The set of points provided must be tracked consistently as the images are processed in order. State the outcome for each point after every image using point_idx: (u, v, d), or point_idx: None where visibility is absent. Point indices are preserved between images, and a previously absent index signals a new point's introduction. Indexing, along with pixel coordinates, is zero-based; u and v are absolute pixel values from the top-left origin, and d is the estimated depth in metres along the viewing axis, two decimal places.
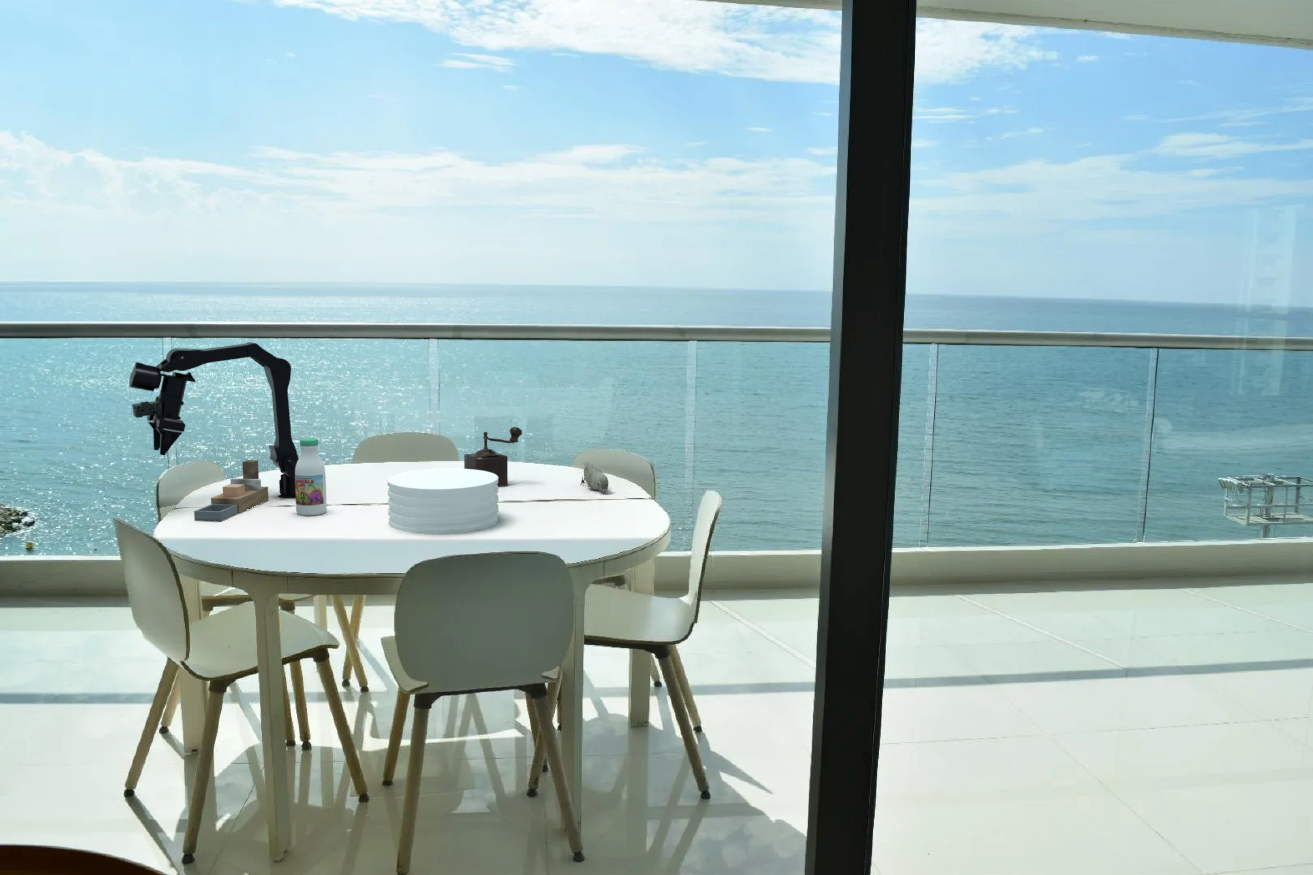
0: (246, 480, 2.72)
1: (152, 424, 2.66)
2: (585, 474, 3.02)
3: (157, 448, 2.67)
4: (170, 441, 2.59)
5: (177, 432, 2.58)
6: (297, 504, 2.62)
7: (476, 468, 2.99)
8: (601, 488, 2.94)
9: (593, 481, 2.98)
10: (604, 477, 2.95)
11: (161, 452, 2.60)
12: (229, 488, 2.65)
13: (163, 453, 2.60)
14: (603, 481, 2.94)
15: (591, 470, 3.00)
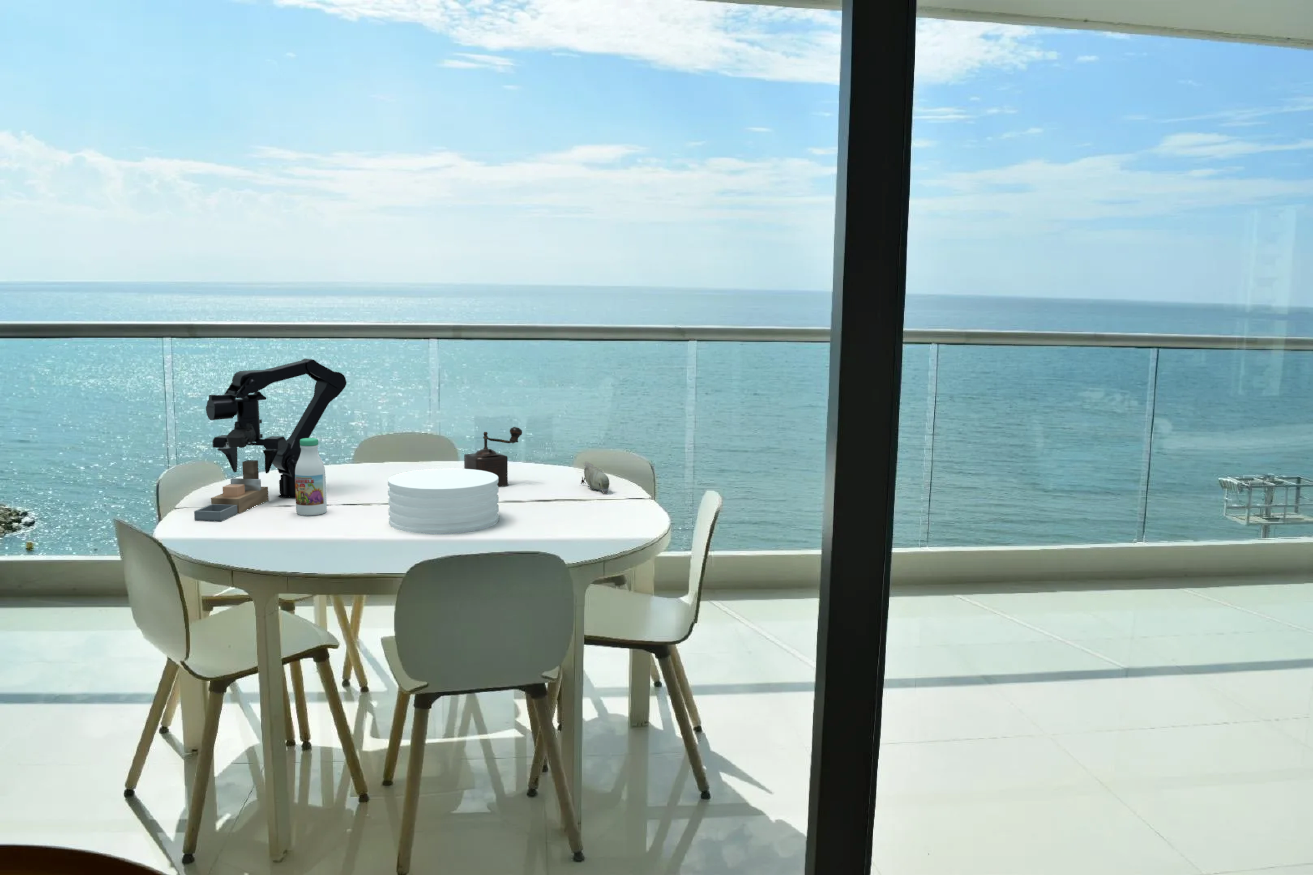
0: (246, 480, 2.72)
1: (228, 450, 2.73)
2: (585, 474, 3.02)
3: (236, 470, 2.76)
4: (272, 458, 2.76)
5: (280, 448, 2.76)
6: (297, 504, 2.62)
7: (476, 468, 2.99)
8: (602, 488, 2.95)
9: (594, 481, 2.98)
10: (605, 477, 2.95)
11: (267, 471, 2.75)
12: (229, 488, 2.65)
13: (268, 471, 2.76)
14: (604, 480, 2.94)
15: (592, 470, 3.00)
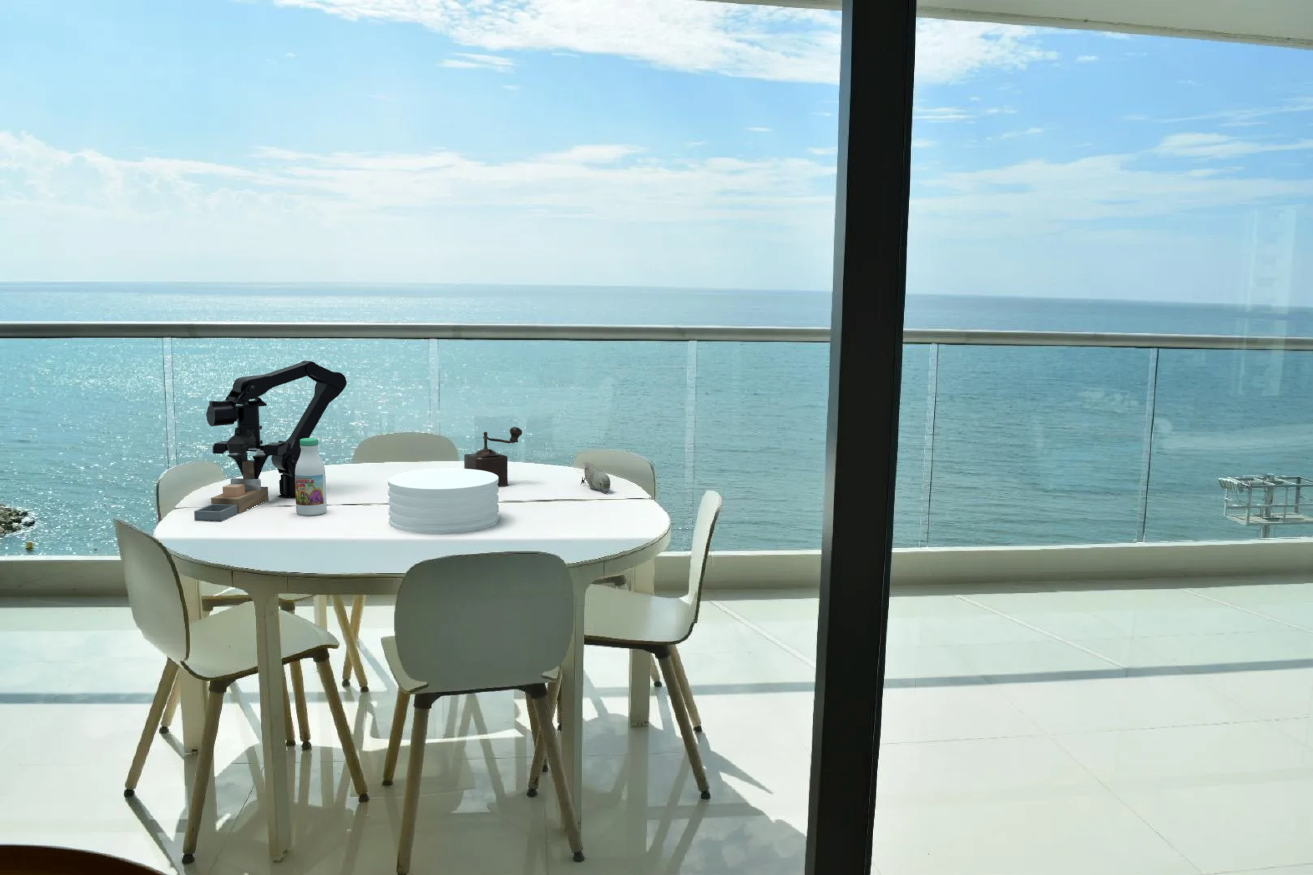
0: (246, 480, 2.72)
1: (238, 456, 2.73)
2: (586, 474, 3.02)
3: None
4: (262, 464, 2.76)
5: None
6: (297, 504, 2.62)
7: (476, 468, 2.99)
8: (603, 488, 2.95)
9: (595, 481, 2.98)
10: (606, 477, 2.96)
11: (257, 477, 2.76)
12: (229, 488, 2.65)
13: (258, 477, 2.76)
14: (605, 480, 2.95)
15: (592, 470, 3.01)
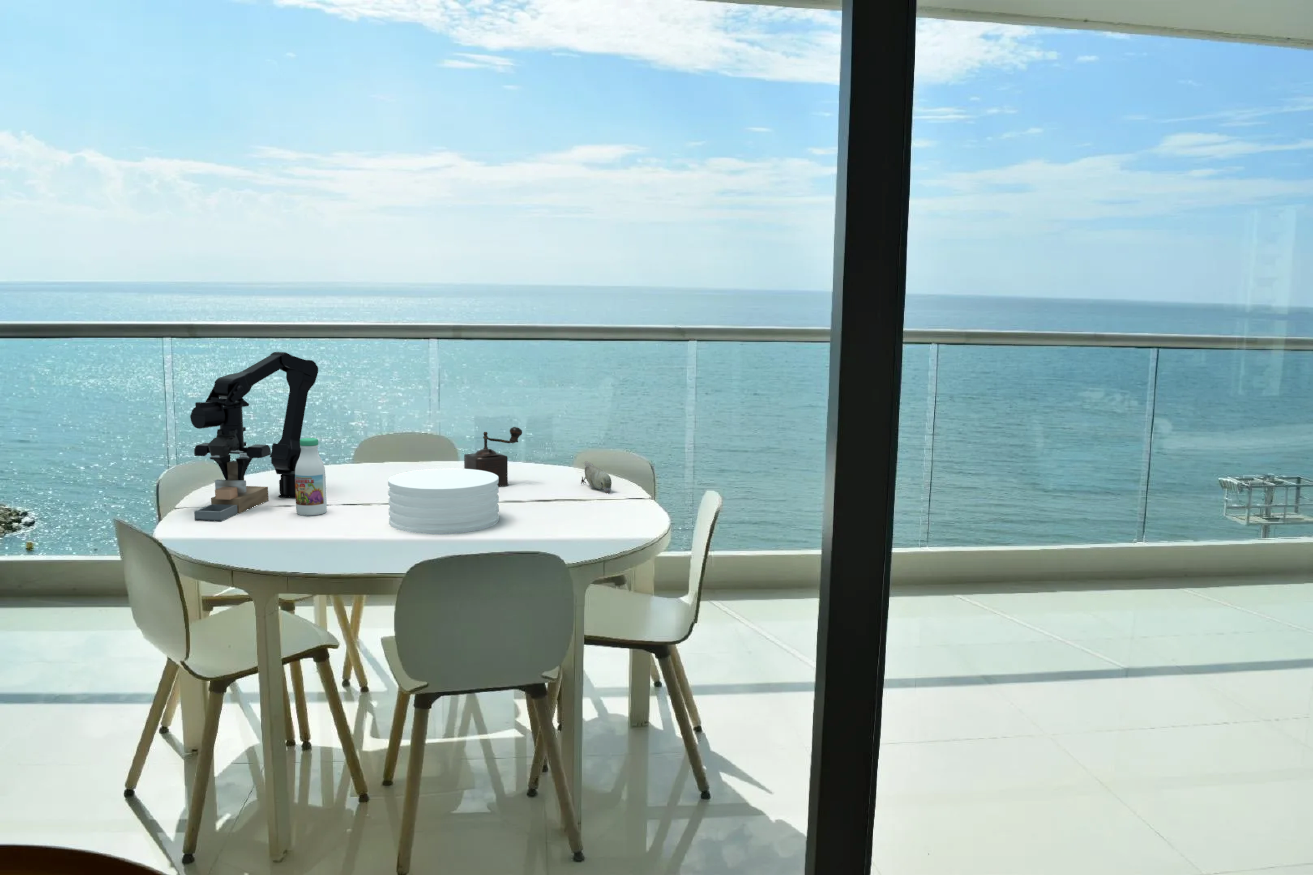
0: (231, 481, 2.64)
1: (221, 458, 2.64)
2: (586, 473, 3.03)
3: None
4: (245, 467, 2.67)
5: None
6: (297, 504, 2.62)
7: (476, 468, 2.99)
8: (605, 487, 2.96)
9: (596, 480, 2.99)
10: (607, 476, 2.96)
11: None
12: (221, 491, 2.61)
13: None
14: (606, 480, 2.96)
15: (593, 469, 3.01)
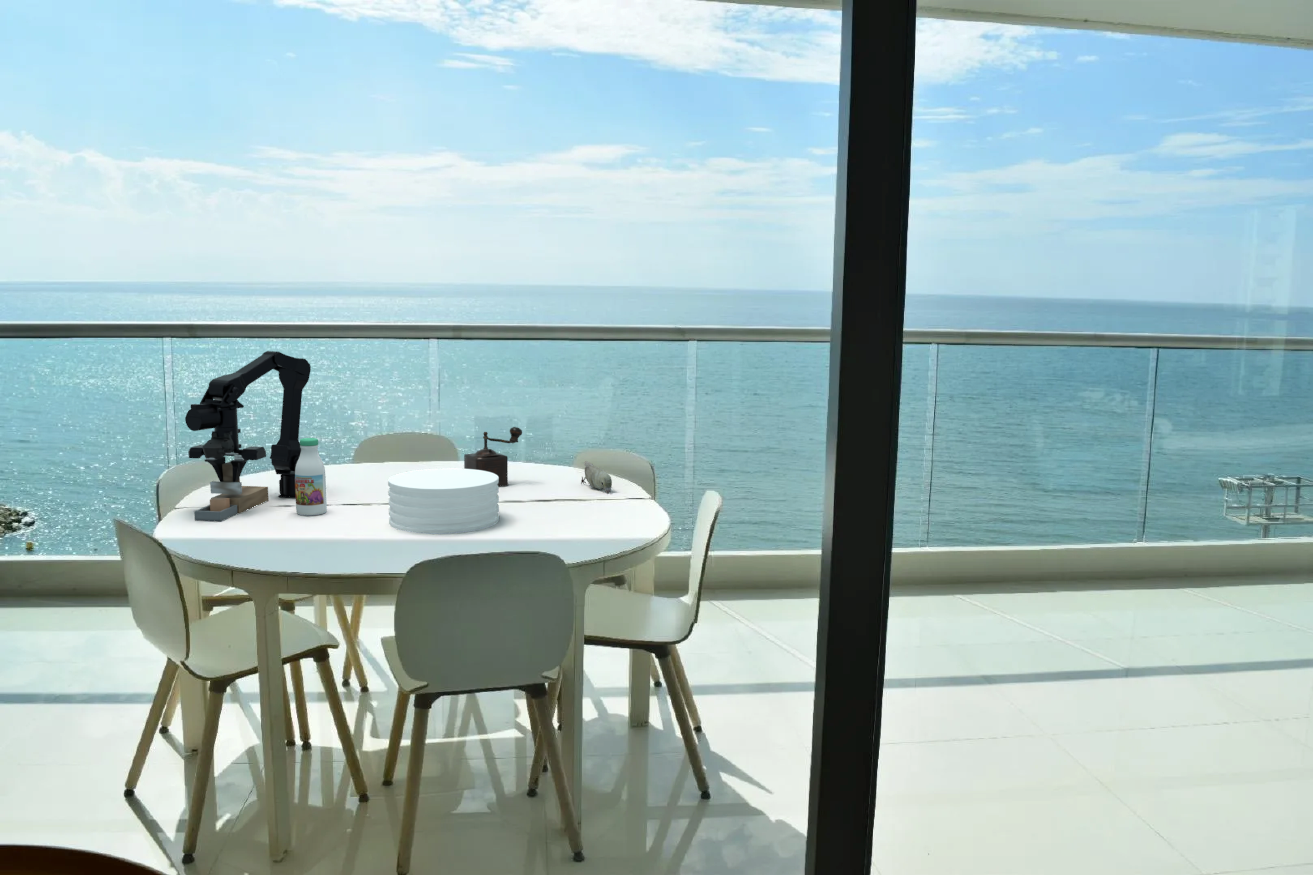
0: (226, 483, 2.62)
1: (215, 461, 2.61)
2: (587, 473, 3.03)
3: None
4: (240, 469, 2.64)
5: None
6: (297, 504, 2.62)
7: (476, 468, 2.99)
8: (605, 487, 2.96)
9: (596, 480, 2.99)
10: (608, 476, 2.97)
11: None
12: None
13: None
14: (607, 480, 2.96)
15: (593, 469, 3.02)
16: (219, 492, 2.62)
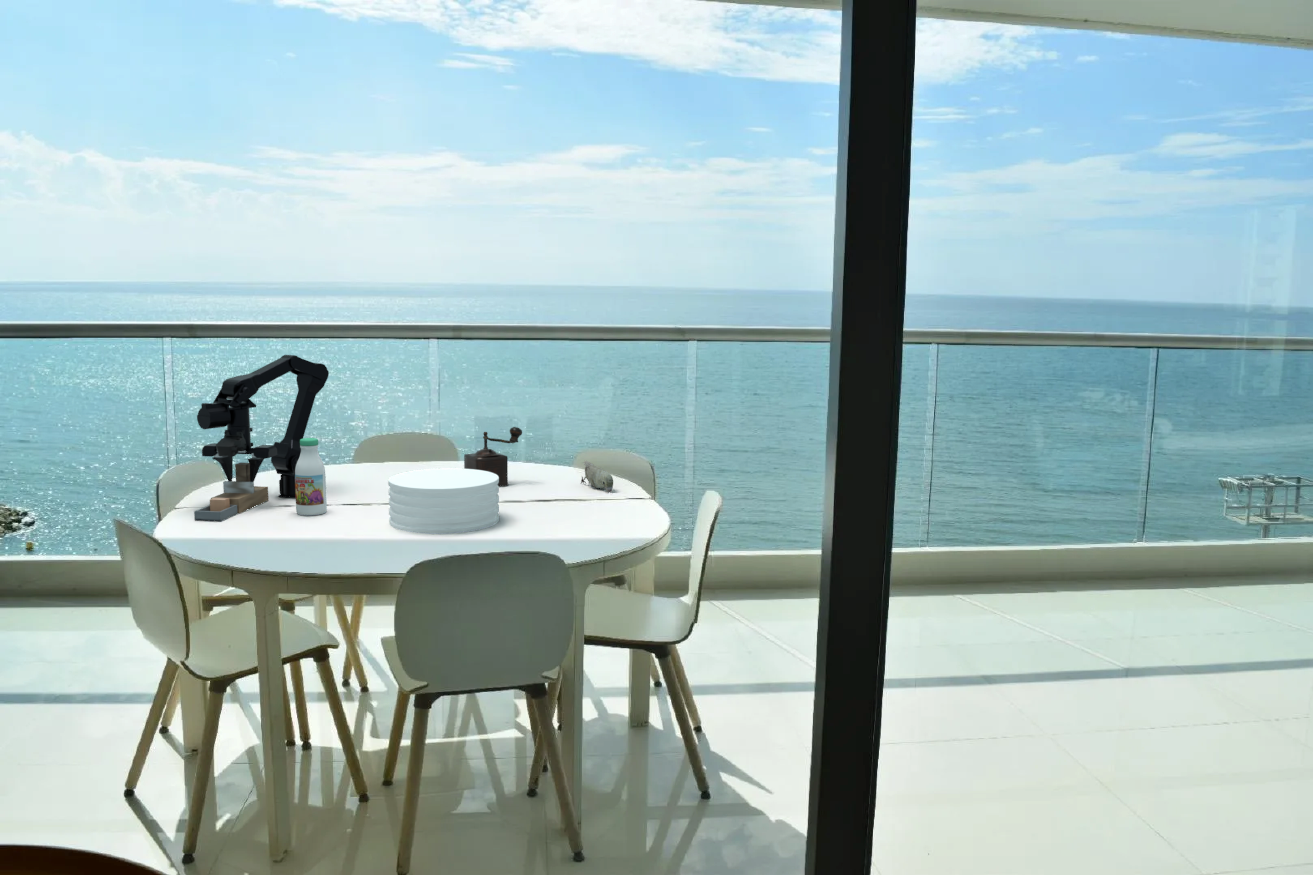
0: (239, 483, 2.69)
1: (223, 458, 2.68)
2: (587, 473, 3.04)
3: (231, 479, 2.71)
4: (257, 467, 2.71)
5: None
6: (297, 504, 2.62)
7: (476, 468, 2.99)
8: (607, 486, 2.97)
9: (597, 480, 3.00)
10: (609, 475, 2.98)
11: (252, 480, 2.70)
12: None
13: (253, 480, 2.70)
14: (608, 479, 2.97)
15: (594, 469, 3.02)
16: (232, 491, 2.69)
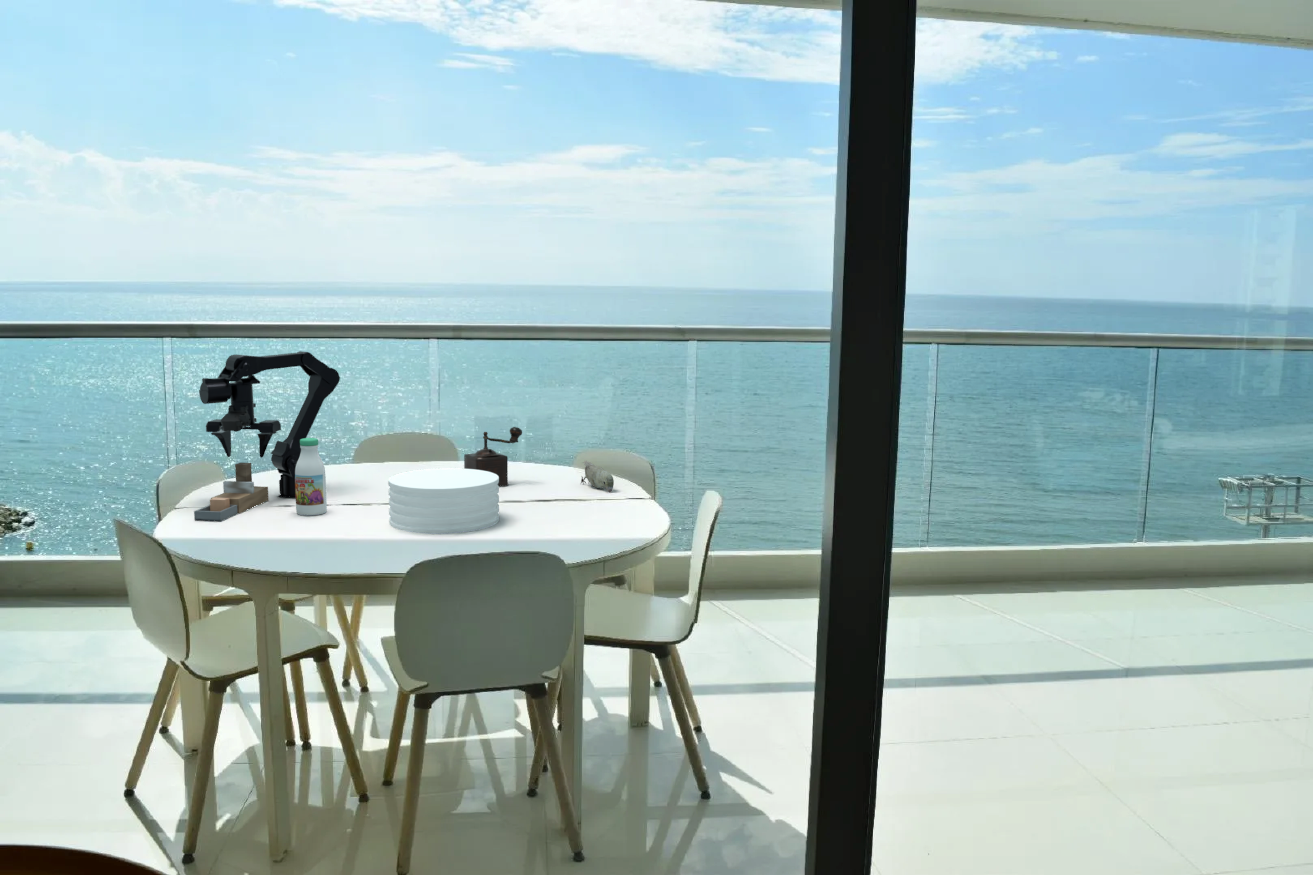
0: (239, 483, 2.69)
1: (222, 434, 2.71)
2: (587, 473, 3.04)
3: (230, 454, 2.74)
4: (266, 442, 2.74)
5: (275, 432, 2.74)
6: (297, 504, 2.62)
7: (476, 468, 2.99)
8: (607, 486, 2.97)
9: (597, 479, 3.00)
10: (610, 475, 2.98)
11: (262, 455, 2.73)
12: None
13: (262, 455, 2.74)
14: (609, 479, 2.97)
15: (594, 469, 3.03)
16: (232, 491, 2.69)
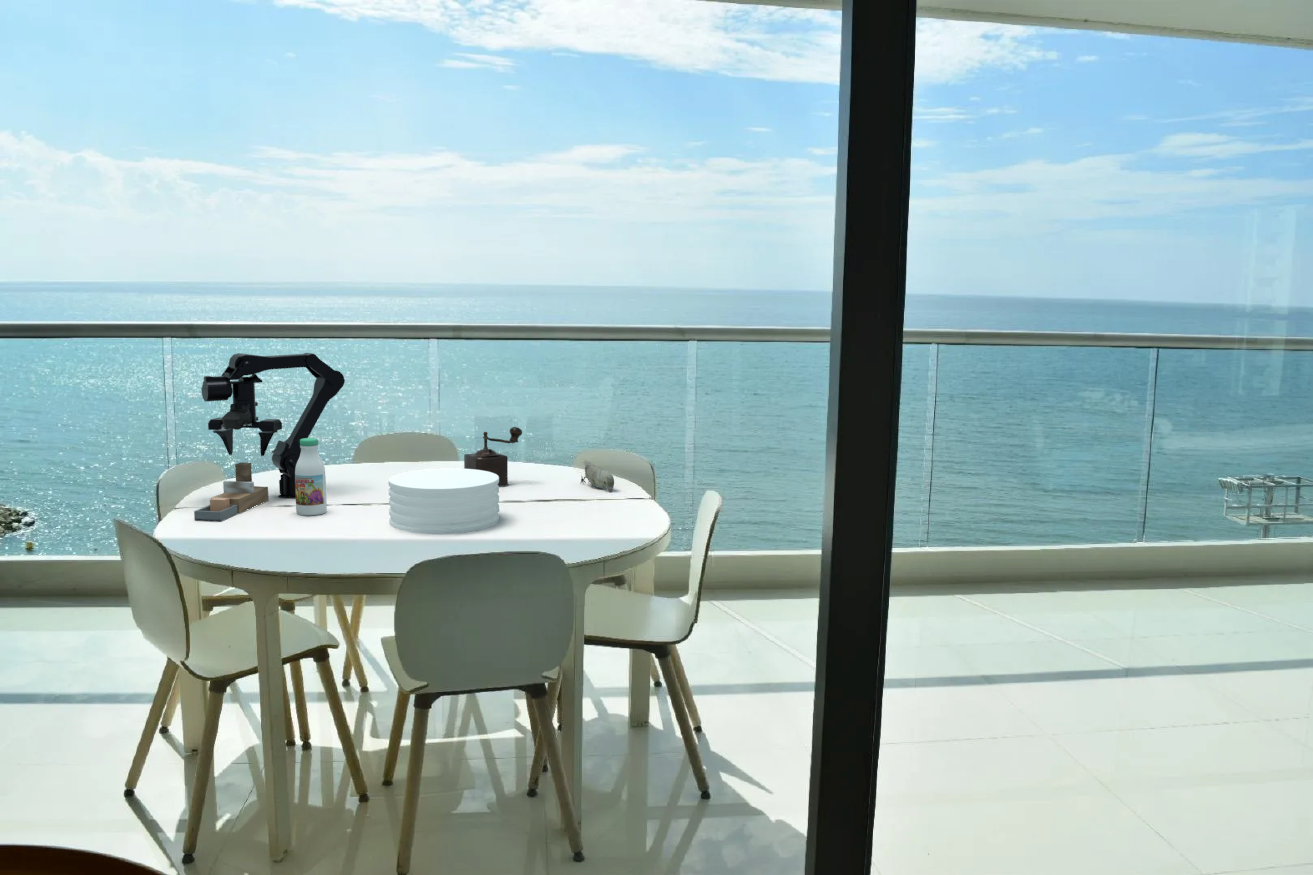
0: (239, 483, 2.69)
1: (223, 432, 2.73)
2: (588, 473, 3.04)
3: (231, 452, 2.76)
4: (267, 441, 2.75)
5: (276, 431, 2.76)
6: (297, 504, 2.62)
7: (476, 468, 2.99)
8: (608, 486, 2.98)
9: (598, 479, 3.01)
10: (610, 475, 2.98)
11: (263, 453, 2.75)
12: None
13: (263, 454, 2.75)
14: (609, 479, 2.97)
15: (594, 468, 3.03)
16: (232, 491, 2.69)
